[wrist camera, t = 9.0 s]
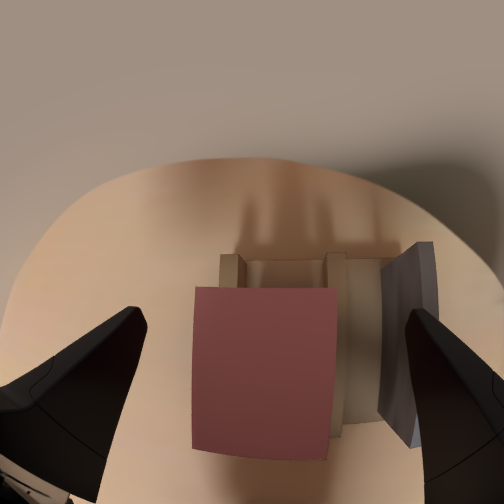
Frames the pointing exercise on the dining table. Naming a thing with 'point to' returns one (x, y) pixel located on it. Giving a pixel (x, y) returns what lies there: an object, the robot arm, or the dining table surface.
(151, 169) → the dining table surface
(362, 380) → the rack
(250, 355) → the red rectangular block
